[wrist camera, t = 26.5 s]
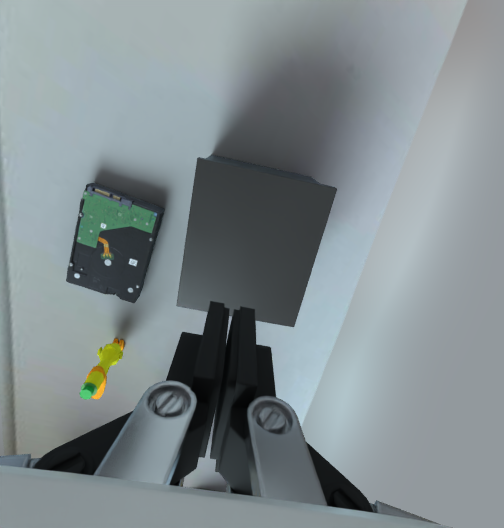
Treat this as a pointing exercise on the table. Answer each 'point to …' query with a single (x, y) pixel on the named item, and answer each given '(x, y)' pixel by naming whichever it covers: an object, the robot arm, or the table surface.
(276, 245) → the case lid
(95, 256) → the disk drive
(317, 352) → the table surface
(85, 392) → the toy figure
